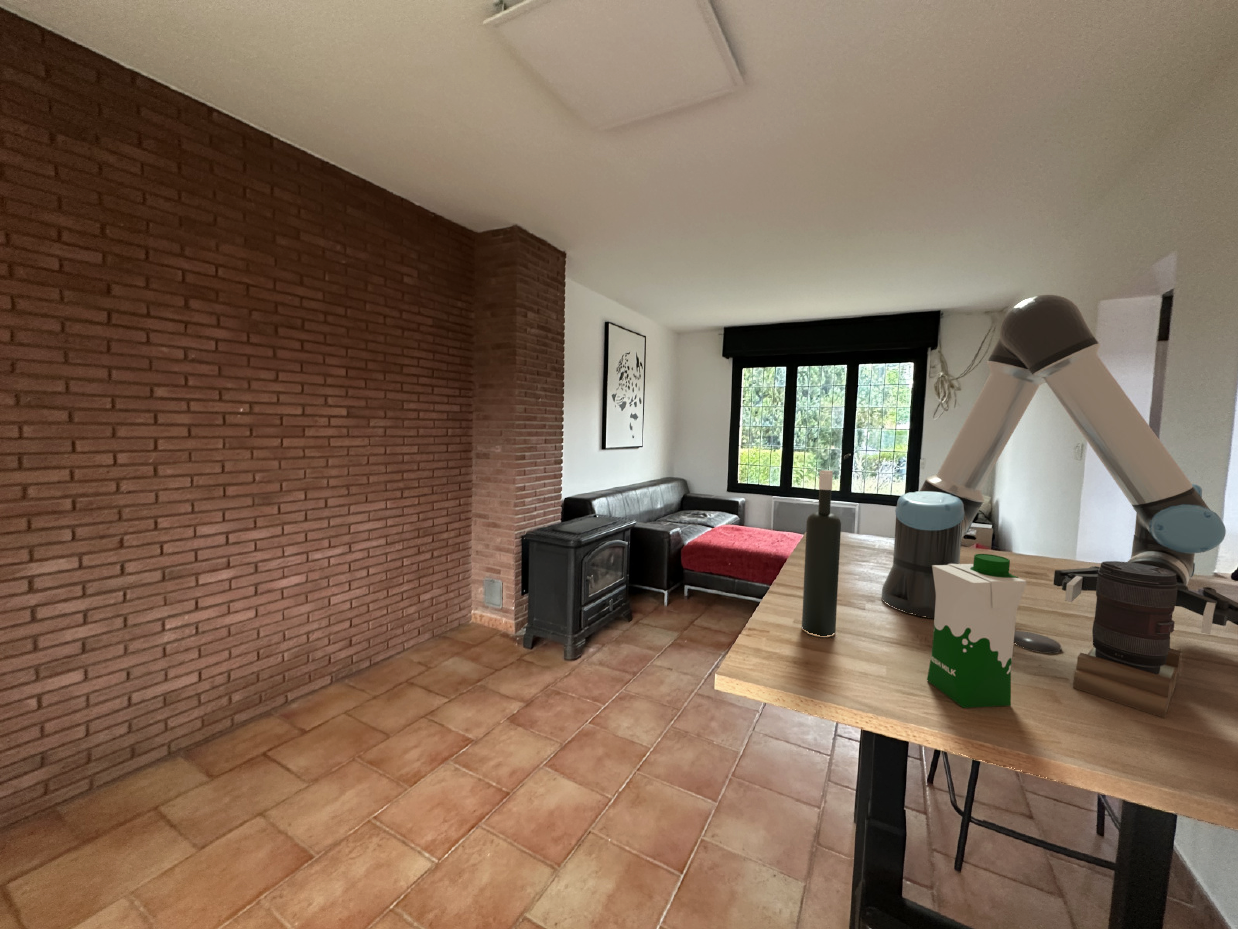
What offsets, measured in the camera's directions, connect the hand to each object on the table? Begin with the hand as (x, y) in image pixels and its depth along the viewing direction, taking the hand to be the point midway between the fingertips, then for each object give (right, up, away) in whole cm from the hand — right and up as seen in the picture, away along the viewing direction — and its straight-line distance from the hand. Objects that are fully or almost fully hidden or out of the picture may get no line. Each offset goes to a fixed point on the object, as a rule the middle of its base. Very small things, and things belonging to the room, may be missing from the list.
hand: (1132, 607), depth 69 cm
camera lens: (+2, -10, +3) cm, 11 cm away
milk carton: (-24, -13, 0) cm, 27 cm away
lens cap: (-1, -11, +16) cm, 19 cm away
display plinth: (+3, -12, +3) cm, 13 cm away
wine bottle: (-37, -11, +20) cm, 43 cm away
